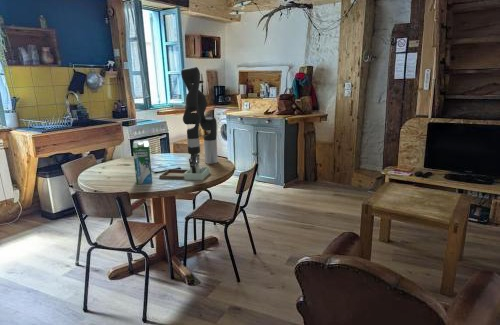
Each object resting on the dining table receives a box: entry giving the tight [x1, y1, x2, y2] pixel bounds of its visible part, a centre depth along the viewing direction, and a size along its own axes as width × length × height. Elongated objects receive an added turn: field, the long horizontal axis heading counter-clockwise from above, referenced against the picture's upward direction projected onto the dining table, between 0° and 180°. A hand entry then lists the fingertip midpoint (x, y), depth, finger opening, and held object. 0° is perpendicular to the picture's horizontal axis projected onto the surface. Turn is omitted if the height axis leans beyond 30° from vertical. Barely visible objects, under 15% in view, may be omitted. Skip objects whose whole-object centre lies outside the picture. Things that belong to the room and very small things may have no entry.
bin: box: [183, 166, 211, 181], centre depth 221 cm, size 16×12×5 cm
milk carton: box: [132, 140, 153, 186], centre depth 210 cm, size 9×9×25 cm
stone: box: [189, 164, 201, 173], centre depth 217 cm, size 4×4×4 cm
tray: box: [158, 168, 189, 180], centre depth 224 cm, size 16×16×2 cm
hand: (195, 172), depth 217 cm, fingers closed on stone, 4 cm apart
